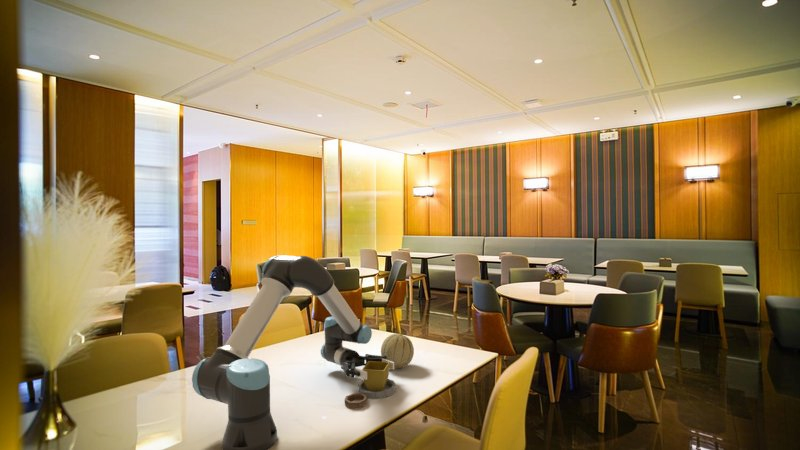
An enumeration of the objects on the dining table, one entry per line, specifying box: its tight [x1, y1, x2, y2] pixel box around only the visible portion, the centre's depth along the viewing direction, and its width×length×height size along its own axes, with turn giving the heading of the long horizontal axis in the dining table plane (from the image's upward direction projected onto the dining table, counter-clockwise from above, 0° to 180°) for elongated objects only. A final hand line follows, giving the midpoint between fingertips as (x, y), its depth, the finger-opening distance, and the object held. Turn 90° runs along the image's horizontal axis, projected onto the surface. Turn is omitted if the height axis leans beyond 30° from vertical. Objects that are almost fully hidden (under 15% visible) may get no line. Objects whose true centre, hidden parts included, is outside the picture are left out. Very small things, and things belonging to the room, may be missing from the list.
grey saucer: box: [357, 378, 397, 399], centre depth 152 cm, size 14×14×2 cm
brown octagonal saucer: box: [344, 392, 368, 410], centre depth 141 cm, size 8×8×2 cm
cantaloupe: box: [380, 331, 415, 369], centre depth 176 cm, size 15×15×15 cm
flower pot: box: [361, 361, 390, 391], centre depth 152 cm, size 9×9×9 cm
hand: (380, 370), depth 150 cm, fingers open, 13 cm apart
